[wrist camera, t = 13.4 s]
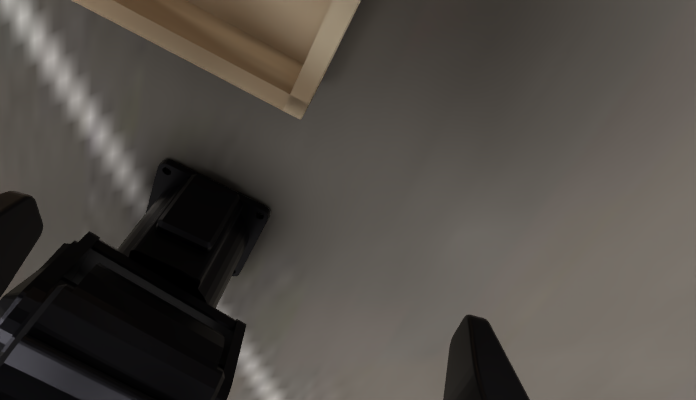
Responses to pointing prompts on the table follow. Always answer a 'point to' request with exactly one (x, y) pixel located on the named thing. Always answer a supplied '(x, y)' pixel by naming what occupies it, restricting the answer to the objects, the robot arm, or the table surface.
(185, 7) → the tray
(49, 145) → the table surface
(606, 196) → the table surface
